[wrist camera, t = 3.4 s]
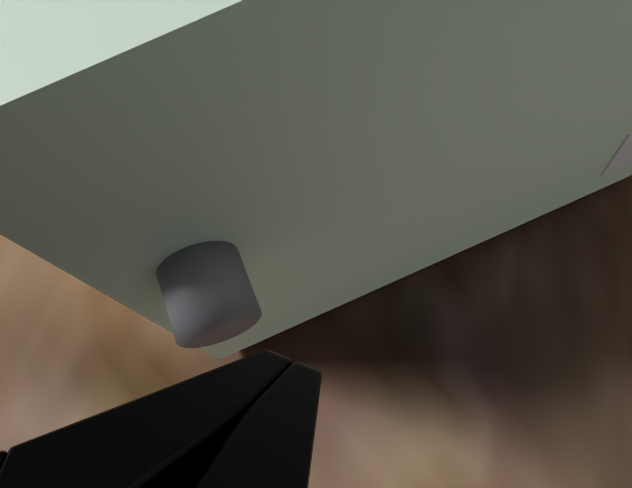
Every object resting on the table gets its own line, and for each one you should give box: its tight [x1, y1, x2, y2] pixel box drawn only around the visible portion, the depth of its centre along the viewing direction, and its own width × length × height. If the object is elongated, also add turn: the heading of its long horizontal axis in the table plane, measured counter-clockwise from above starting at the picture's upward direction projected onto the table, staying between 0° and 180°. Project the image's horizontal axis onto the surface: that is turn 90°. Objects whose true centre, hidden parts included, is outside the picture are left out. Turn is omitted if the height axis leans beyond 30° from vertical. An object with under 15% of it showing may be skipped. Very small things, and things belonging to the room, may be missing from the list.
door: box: [0, 0, 632, 360], centre depth 10 cm, size 3×12×10 cm, turn 113°
